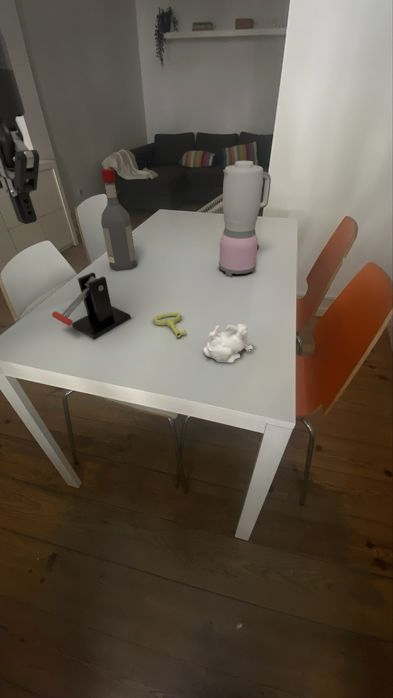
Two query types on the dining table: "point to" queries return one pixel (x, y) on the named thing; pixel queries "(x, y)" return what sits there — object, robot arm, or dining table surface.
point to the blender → (241, 216)
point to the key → (170, 322)
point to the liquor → (117, 228)
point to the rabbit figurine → (227, 343)
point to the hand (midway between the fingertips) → (28, 221)
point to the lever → (73, 305)
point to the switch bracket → (98, 309)
